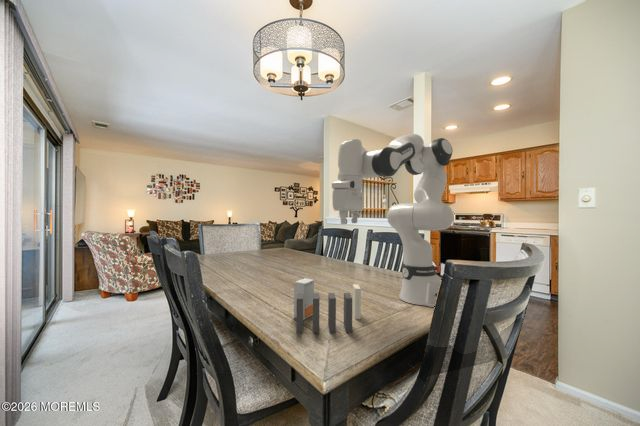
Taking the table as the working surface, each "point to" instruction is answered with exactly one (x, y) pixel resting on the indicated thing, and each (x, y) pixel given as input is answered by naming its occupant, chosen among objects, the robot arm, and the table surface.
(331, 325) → the domino
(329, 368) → the table surface
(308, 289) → the skincare box
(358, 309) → the domino
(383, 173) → the robot arm
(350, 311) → the domino
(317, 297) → the domino
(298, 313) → the domino
